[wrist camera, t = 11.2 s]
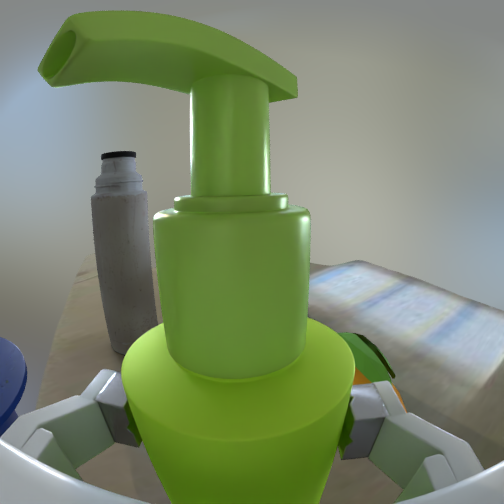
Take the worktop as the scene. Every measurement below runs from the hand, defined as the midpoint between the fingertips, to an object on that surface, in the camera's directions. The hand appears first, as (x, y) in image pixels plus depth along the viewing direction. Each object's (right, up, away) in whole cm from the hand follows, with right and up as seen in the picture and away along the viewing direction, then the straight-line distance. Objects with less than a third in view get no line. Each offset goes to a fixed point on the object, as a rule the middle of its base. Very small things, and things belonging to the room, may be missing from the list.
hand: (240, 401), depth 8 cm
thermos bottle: (-18, -10, +34) cm, 39 cm away
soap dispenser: (0, -11, +2) cm, 11 cm away
